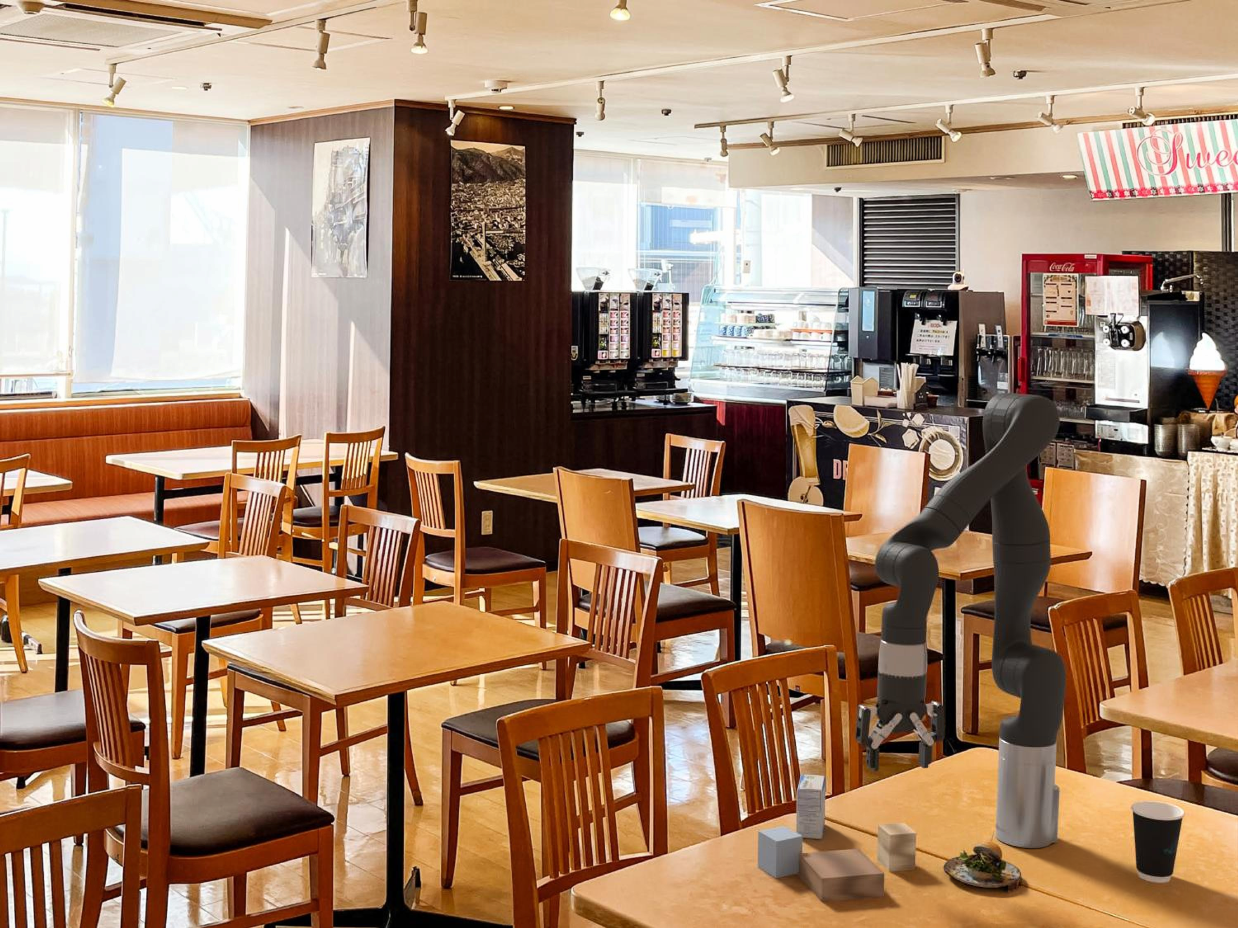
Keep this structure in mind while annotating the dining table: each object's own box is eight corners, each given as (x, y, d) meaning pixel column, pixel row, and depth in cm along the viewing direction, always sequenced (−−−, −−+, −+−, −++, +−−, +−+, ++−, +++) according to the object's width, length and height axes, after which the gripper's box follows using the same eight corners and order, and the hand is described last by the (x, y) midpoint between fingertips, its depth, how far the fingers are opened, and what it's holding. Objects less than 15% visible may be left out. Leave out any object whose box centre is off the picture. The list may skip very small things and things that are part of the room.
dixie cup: (1183, 889, 216) (1187, 820, 214) (1128, 882, 218) (1132, 814, 217) (1179, 870, 223) (1182, 803, 222) (1126, 864, 226) (1129, 797, 224)
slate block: (783, 861, 225) (784, 825, 225) (801, 872, 221) (802, 835, 220) (757, 867, 223) (758, 830, 222) (775, 878, 218) (776, 841, 218)
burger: (928, 871, 222) (930, 826, 222) (989, 861, 227) (990, 816, 226) (975, 900, 211) (977, 852, 211) (1038, 888, 216) (1040, 842, 215)
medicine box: (822, 840, 235) (823, 790, 234) (795, 838, 236) (796, 788, 235) (824, 823, 242) (826, 775, 241) (799, 821, 243) (800, 773, 242)
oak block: (902, 858, 227) (904, 822, 226) (915, 869, 223) (916, 832, 222) (877, 860, 226) (878, 824, 225) (888, 871, 222) (890, 834, 221)
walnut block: (858, 872, 222) (859, 848, 221) (883, 898, 212) (884, 872, 212) (798, 877, 220) (799, 853, 219) (821, 903, 210) (821, 878, 209)
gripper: (933, 661, 226) (929, 758, 228) (851, 664, 223) (847, 763, 225) (954, 672, 219) (950, 773, 221) (870, 676, 216) (866, 778, 217)
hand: (898, 768), depth 223 cm, fingers open, 8 cm apart
